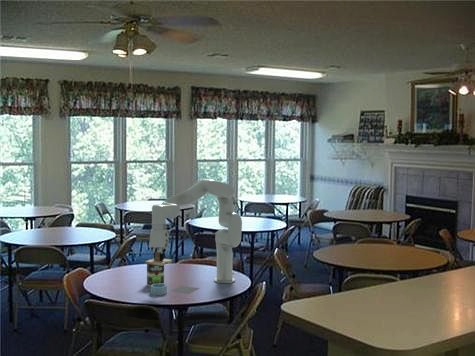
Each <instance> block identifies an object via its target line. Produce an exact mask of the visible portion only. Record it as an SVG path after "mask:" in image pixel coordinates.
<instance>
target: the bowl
mask: <svg viewBox="0 0 475 356" xmlns="http://www.w3.org/2000/svg"><path fill="white" fill-rule="evenodd" d="M150 294H151V295H153V296H162V295H167V294H168V284H166V283H164V284H163V283H156V284H152V285H151V286H150Z"/></svg>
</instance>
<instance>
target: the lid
mask: <svg viewBox="0 0 475 356" xmlns="http://www.w3.org/2000/svg"><path fill="white" fill-rule="evenodd" d="M160 253H161V252H160V250H157V251H156V252H155V260H154V258H151V259H148V260H146V261H144V264H145V265H147V264H152V265H160V266H163V265H164V266H165V265H167V264H170V263H172V262H174V261H173V259H170V258H164V260H161V261H160Z"/></svg>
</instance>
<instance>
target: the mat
mask: <svg viewBox="0 0 475 356" xmlns="http://www.w3.org/2000/svg"><path fill="white" fill-rule="evenodd" d="M199 289H200V288H199V287H194V286H186V285H181V286H179V287H176V288H174V289H172V290H171V292H174V293H175V292H176V293H182V294H183V293H184V294H189V295H190V294H191V293H193V292H195V291H197V290H199Z"/></svg>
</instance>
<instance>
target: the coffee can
mask: <svg viewBox="0 0 475 356" xmlns="http://www.w3.org/2000/svg"><path fill="white" fill-rule="evenodd" d="M156 283H163V284H165V265H163V266H160V265H152V264H146V286H147V287H151V285H152V284H156Z"/></svg>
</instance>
